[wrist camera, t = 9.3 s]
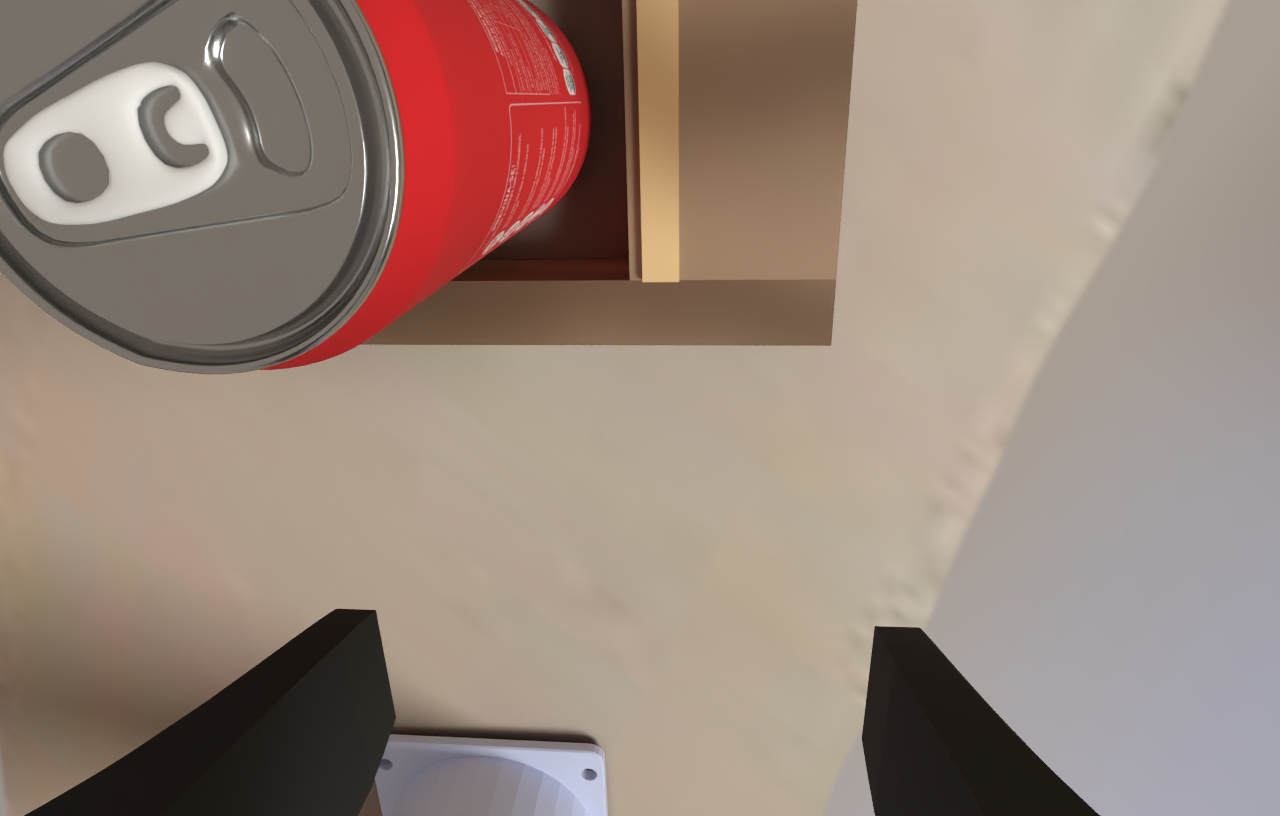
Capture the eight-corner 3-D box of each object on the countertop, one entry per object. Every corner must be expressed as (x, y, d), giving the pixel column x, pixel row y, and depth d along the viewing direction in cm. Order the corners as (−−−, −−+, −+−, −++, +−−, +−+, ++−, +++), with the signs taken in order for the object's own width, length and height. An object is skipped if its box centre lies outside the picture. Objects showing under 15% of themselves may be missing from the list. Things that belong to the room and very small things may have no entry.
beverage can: (626, 187, 18) (510, 320, 7) (436, 249, 19) (79, 450, 8) (553, -45, 17) (257, -328, 6) (348, 36, 18) (-252, -69, 7)
